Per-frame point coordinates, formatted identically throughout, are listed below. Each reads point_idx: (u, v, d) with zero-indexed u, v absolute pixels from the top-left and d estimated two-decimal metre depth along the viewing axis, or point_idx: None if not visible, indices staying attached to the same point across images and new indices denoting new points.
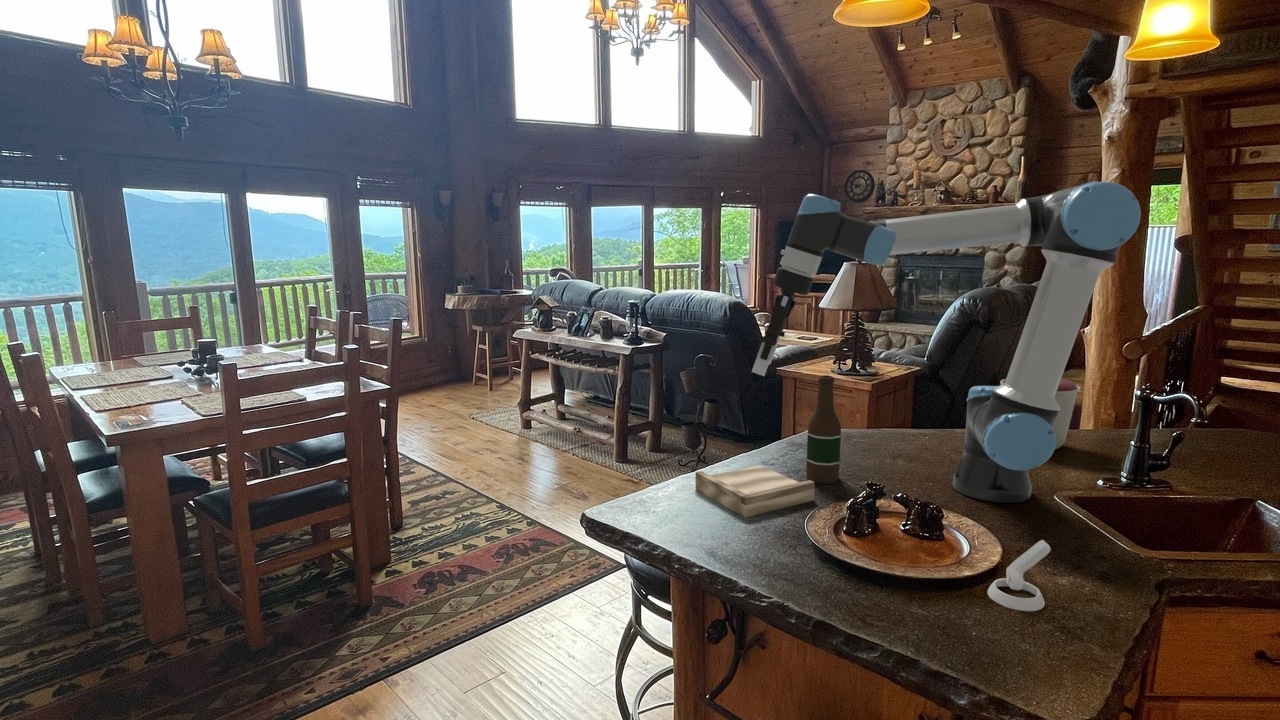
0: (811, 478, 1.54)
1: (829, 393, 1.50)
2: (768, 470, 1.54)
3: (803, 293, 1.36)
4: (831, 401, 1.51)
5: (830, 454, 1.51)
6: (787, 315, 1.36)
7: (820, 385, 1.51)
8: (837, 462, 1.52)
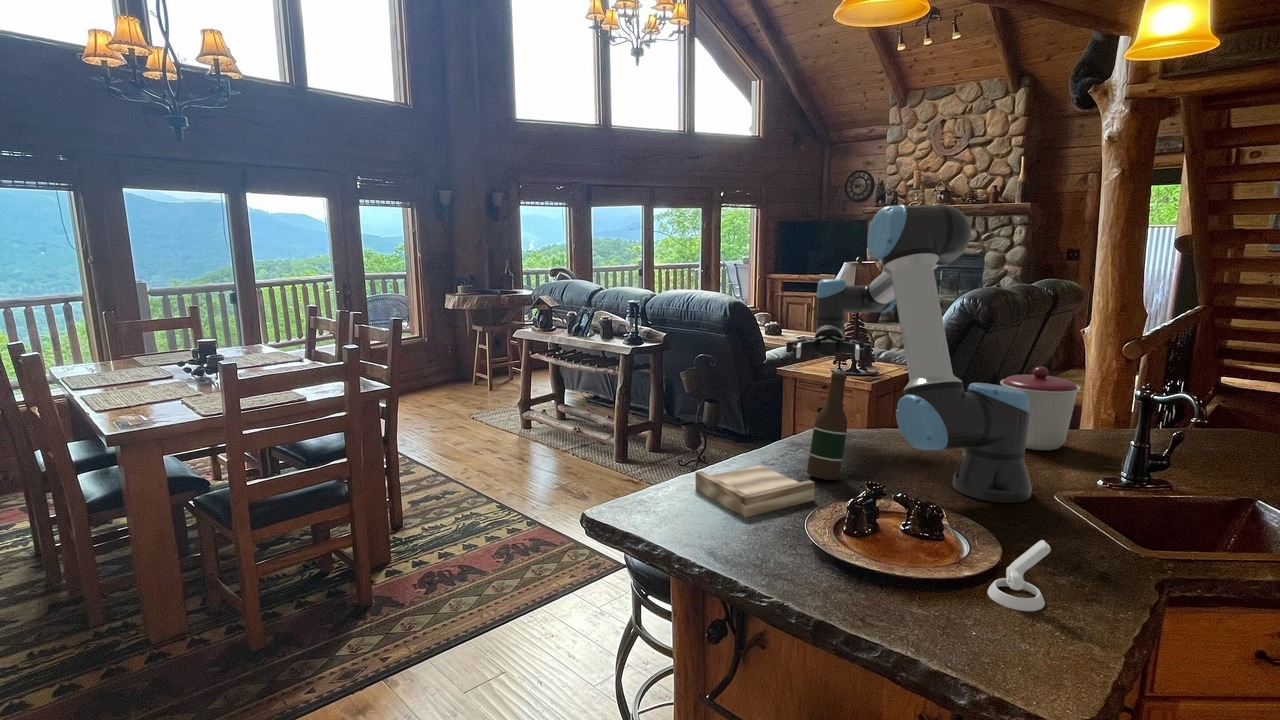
0: (812, 472, 1.54)
1: (840, 389, 1.52)
2: (768, 470, 1.54)
3: (820, 331, 1.77)
4: (841, 397, 1.53)
5: (834, 449, 1.51)
6: None
7: (832, 380, 1.53)
8: (839, 460, 1.52)
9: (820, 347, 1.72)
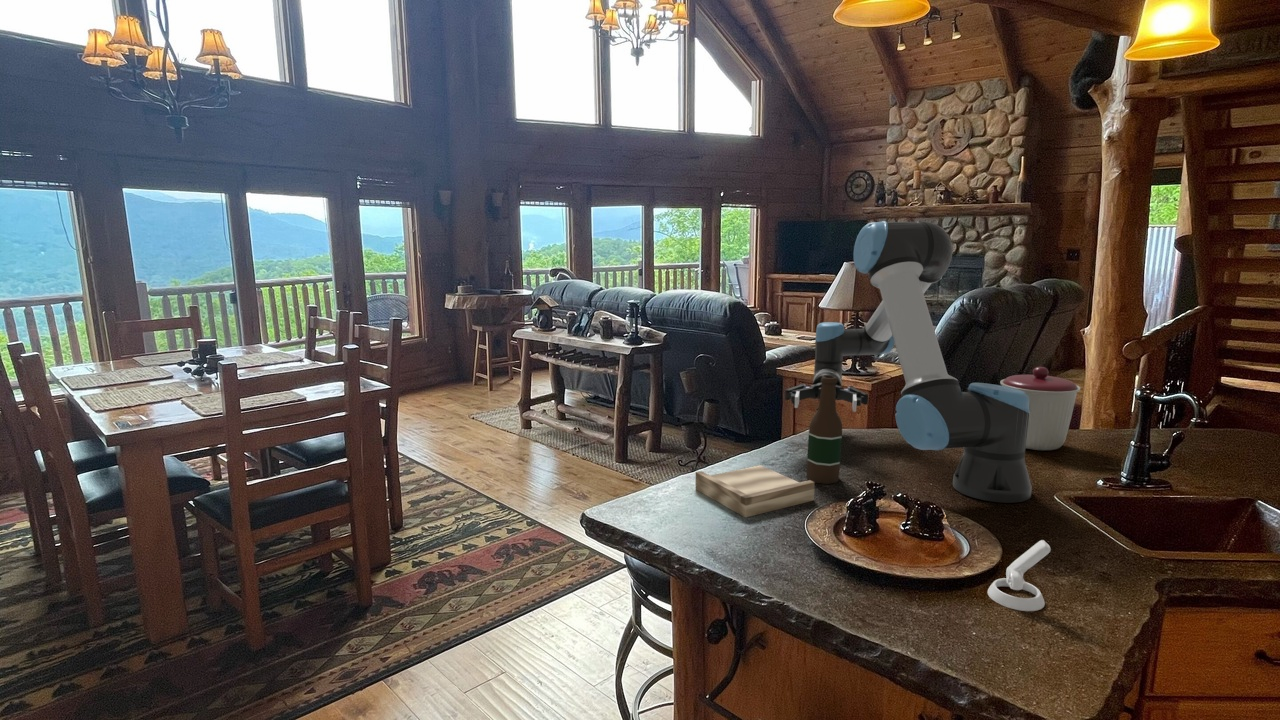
0: (811, 478, 1.54)
1: (831, 394, 1.50)
2: (768, 470, 1.54)
3: (818, 377, 1.79)
4: (833, 401, 1.50)
5: (831, 454, 1.50)
6: None
7: (822, 385, 1.50)
8: (837, 463, 1.52)
9: (818, 394, 1.75)
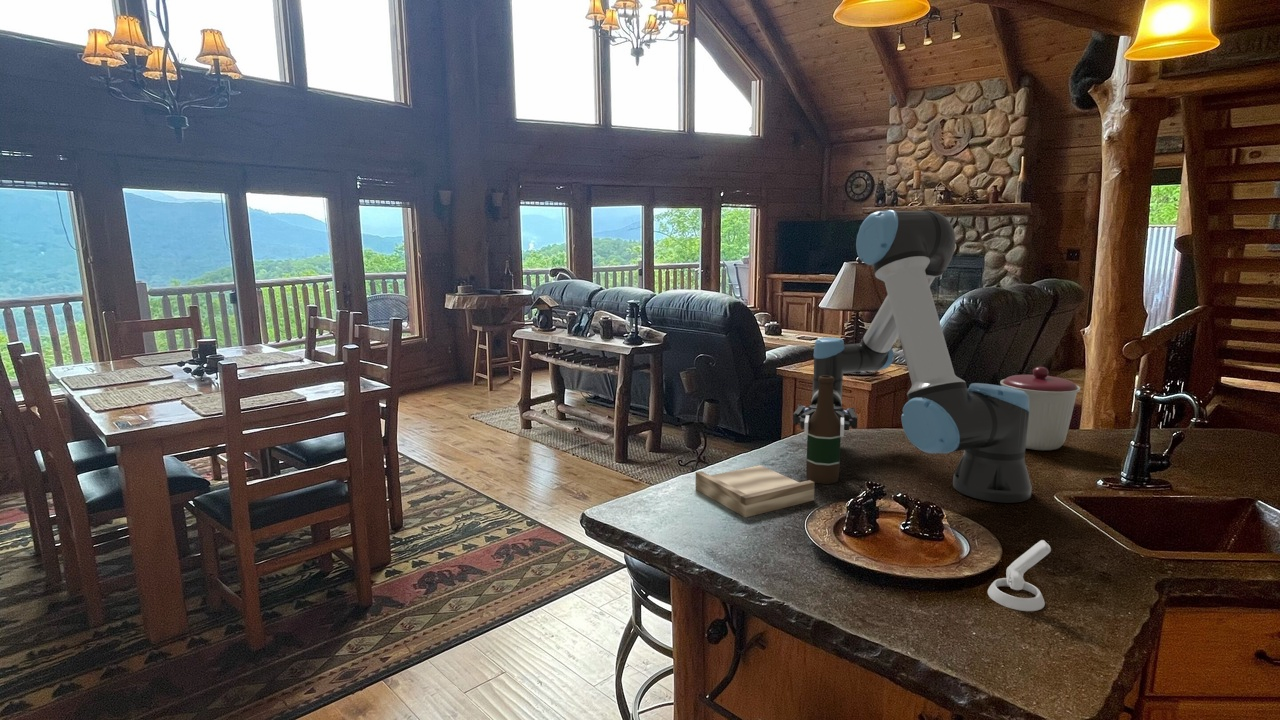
0: (811, 478, 1.54)
1: (829, 393, 1.50)
2: (768, 470, 1.54)
3: (817, 397, 1.67)
4: (831, 401, 1.51)
5: (830, 454, 1.51)
6: None
7: (820, 385, 1.51)
8: (837, 462, 1.52)
9: None
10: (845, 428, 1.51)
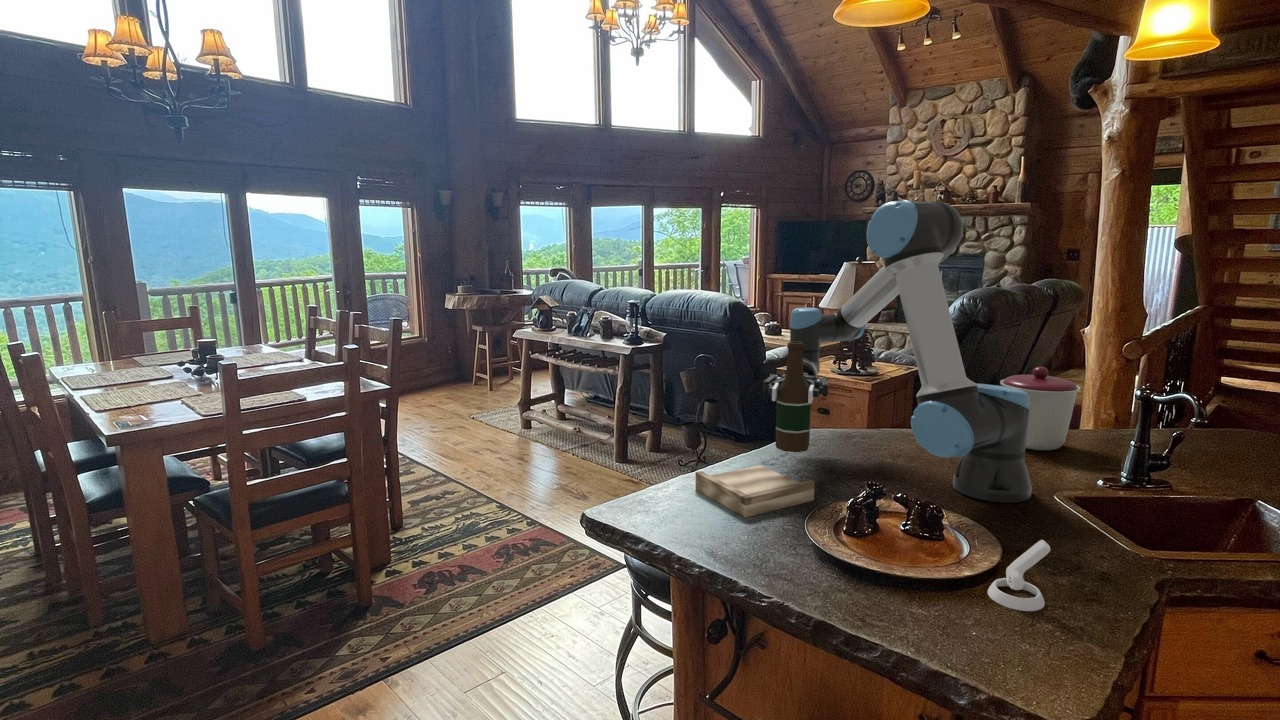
0: (780, 446, 1.50)
1: (798, 359, 1.47)
2: (768, 470, 1.54)
3: None
4: (800, 367, 1.47)
5: (798, 421, 1.47)
6: None
7: (789, 351, 1.48)
8: (806, 430, 1.48)
9: None
10: (814, 395, 1.47)
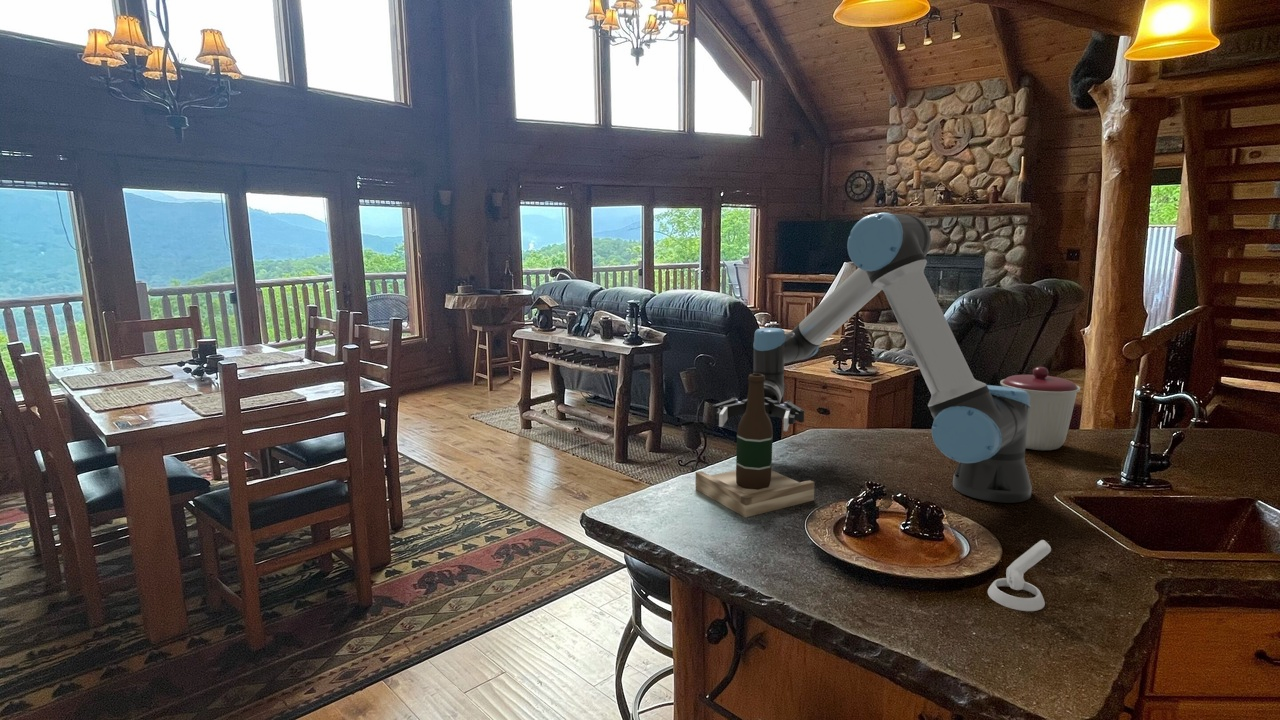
0: (740, 483, 1.44)
1: (759, 393, 1.40)
2: None
3: None
4: (761, 401, 1.41)
5: (760, 458, 1.41)
6: None
7: (750, 384, 1.41)
8: (767, 467, 1.42)
9: None
10: (790, 422, 1.41)
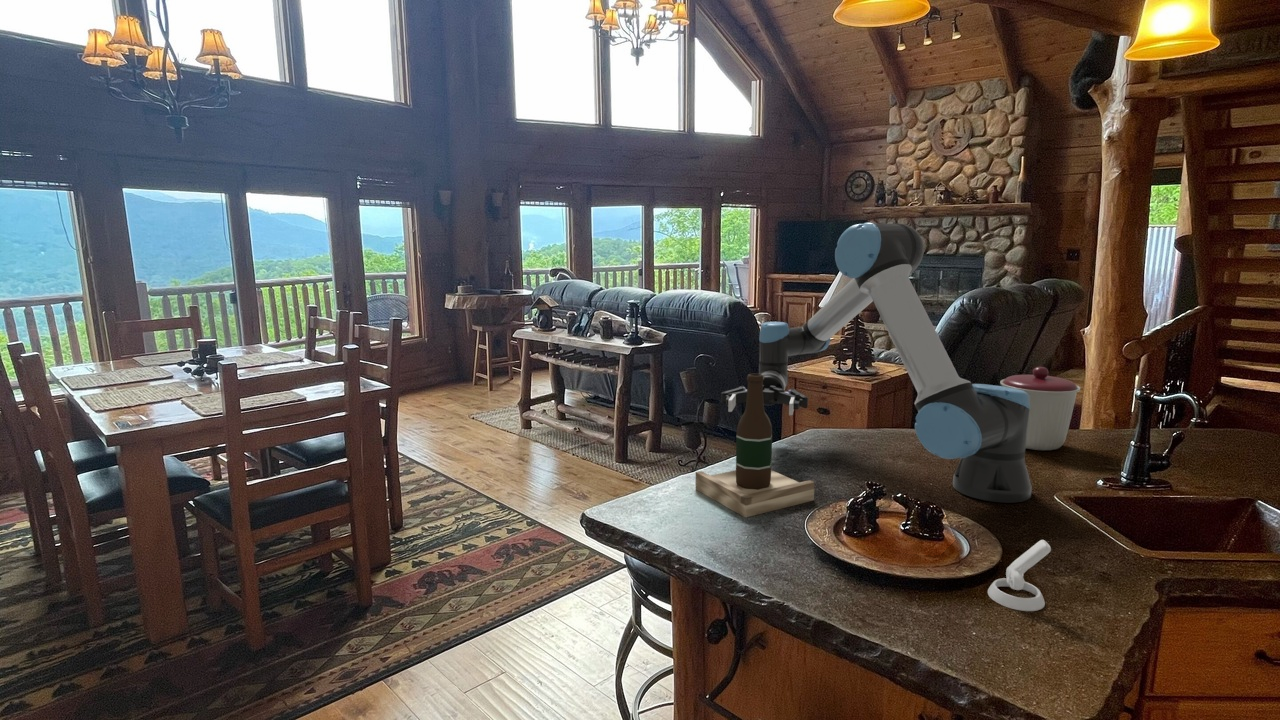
0: (740, 483, 1.44)
1: (758, 392, 1.41)
2: None
3: None
4: (760, 401, 1.41)
5: (759, 457, 1.41)
6: None
7: (748, 384, 1.41)
8: (767, 466, 1.42)
9: None
10: (795, 407, 1.54)
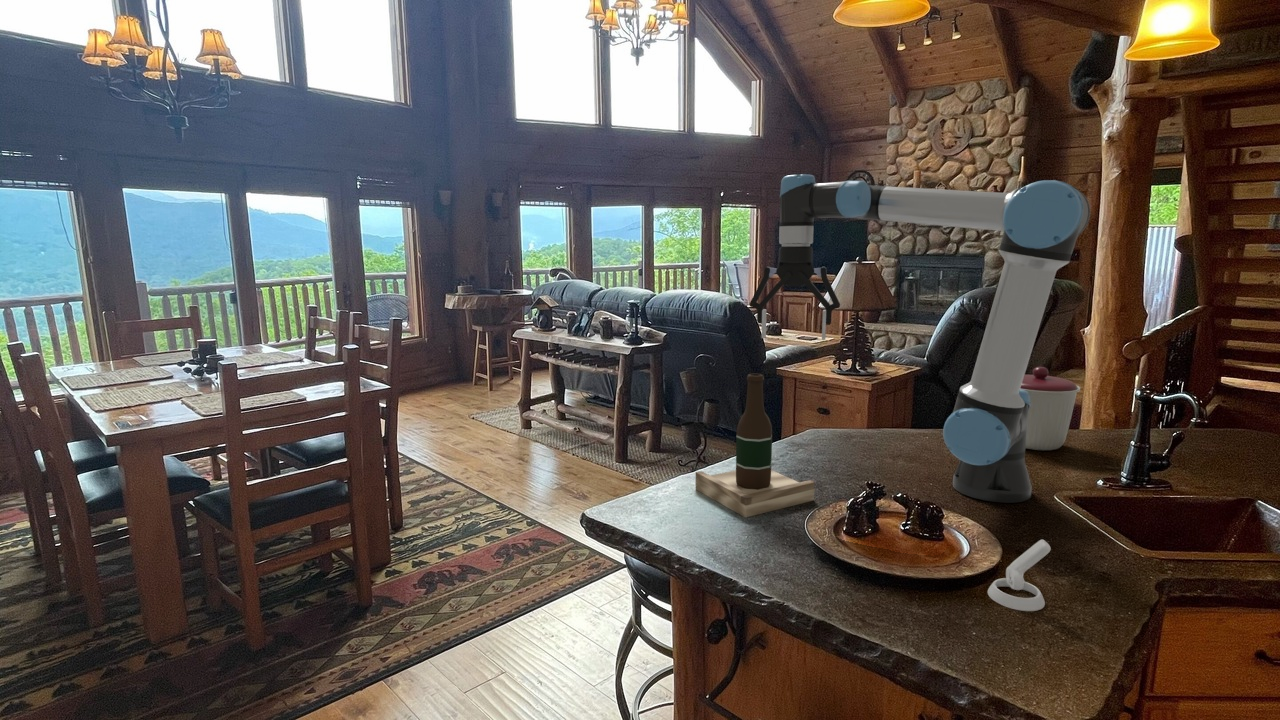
0: (740, 483, 1.44)
1: (758, 392, 1.41)
2: None
3: (784, 261, 1.52)
4: (760, 401, 1.41)
5: (759, 457, 1.41)
6: (777, 283, 1.54)
7: (748, 384, 1.41)
8: (767, 466, 1.42)
9: None
10: None
